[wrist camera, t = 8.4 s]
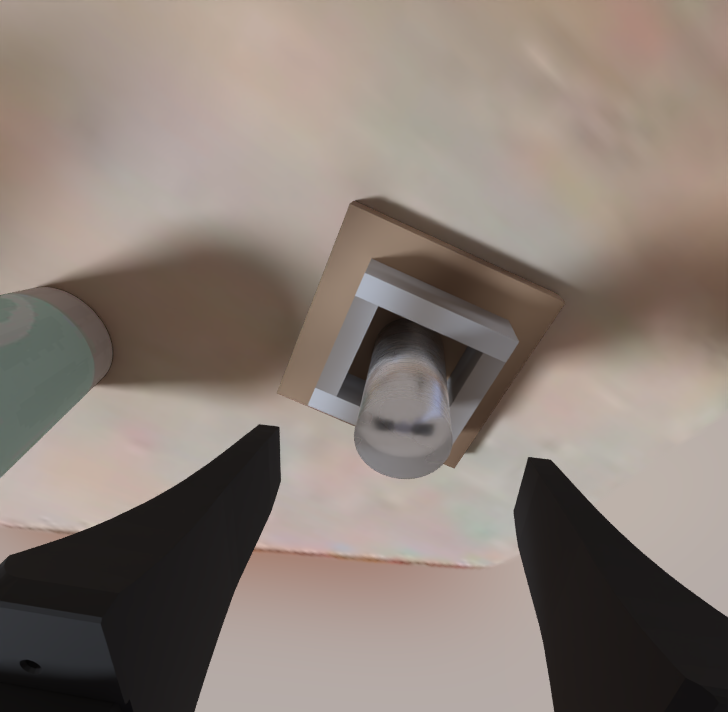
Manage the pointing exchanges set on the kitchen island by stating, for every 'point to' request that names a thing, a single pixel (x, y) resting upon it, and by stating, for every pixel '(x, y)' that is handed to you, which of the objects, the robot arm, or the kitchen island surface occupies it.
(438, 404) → the shaft
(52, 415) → the coffee cup
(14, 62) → the kitchen island surface
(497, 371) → the block
